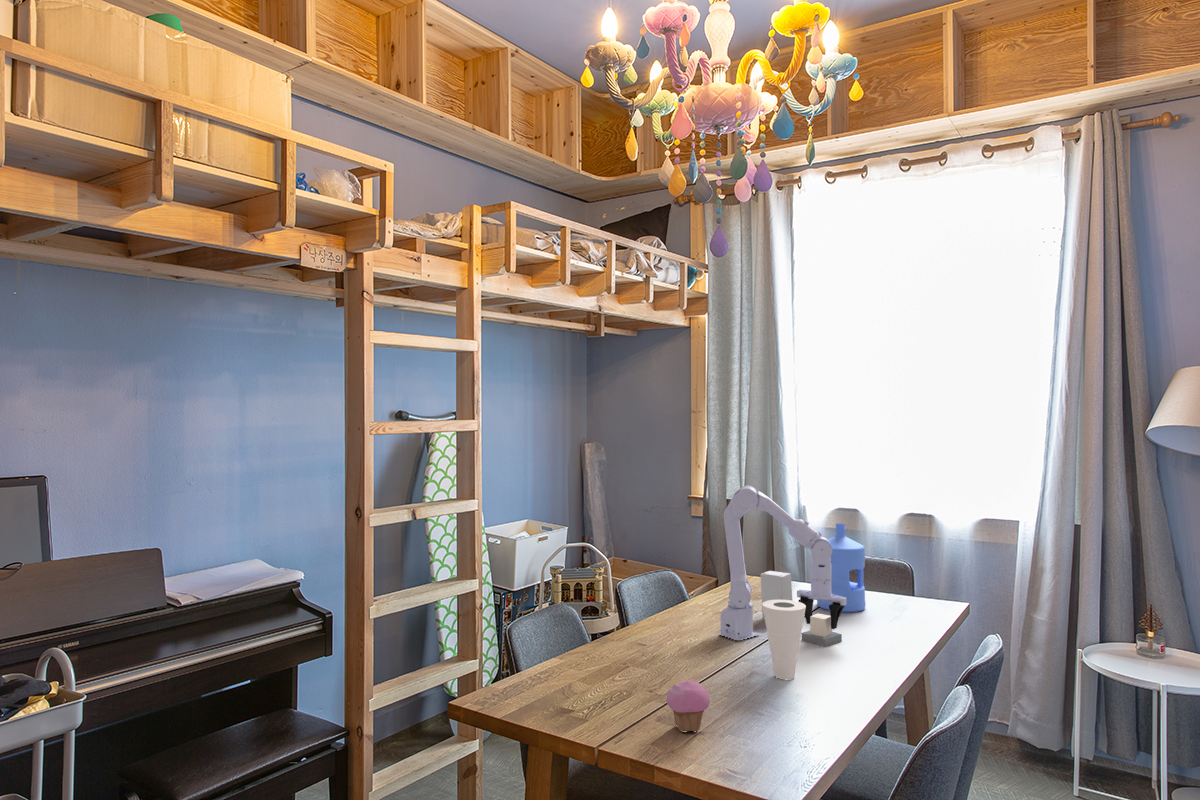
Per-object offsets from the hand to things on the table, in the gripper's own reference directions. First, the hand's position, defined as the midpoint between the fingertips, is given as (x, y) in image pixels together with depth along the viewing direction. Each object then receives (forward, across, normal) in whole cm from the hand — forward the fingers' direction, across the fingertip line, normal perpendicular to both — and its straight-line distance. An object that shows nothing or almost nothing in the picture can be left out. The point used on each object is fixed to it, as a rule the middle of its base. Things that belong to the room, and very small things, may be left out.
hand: (821, 625), depth 218 cm
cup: (+4, +7, -34) cm, 35 cm away
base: (+4, 0, 0) cm, 4 cm away
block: (+2, 0, 0) cm, 2 cm away
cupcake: (+4, +8, -76) cm, 76 cm away
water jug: (+4, -12, +39) cm, 41 cm away
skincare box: (+4, -21, +11) cm, 24 cm away
